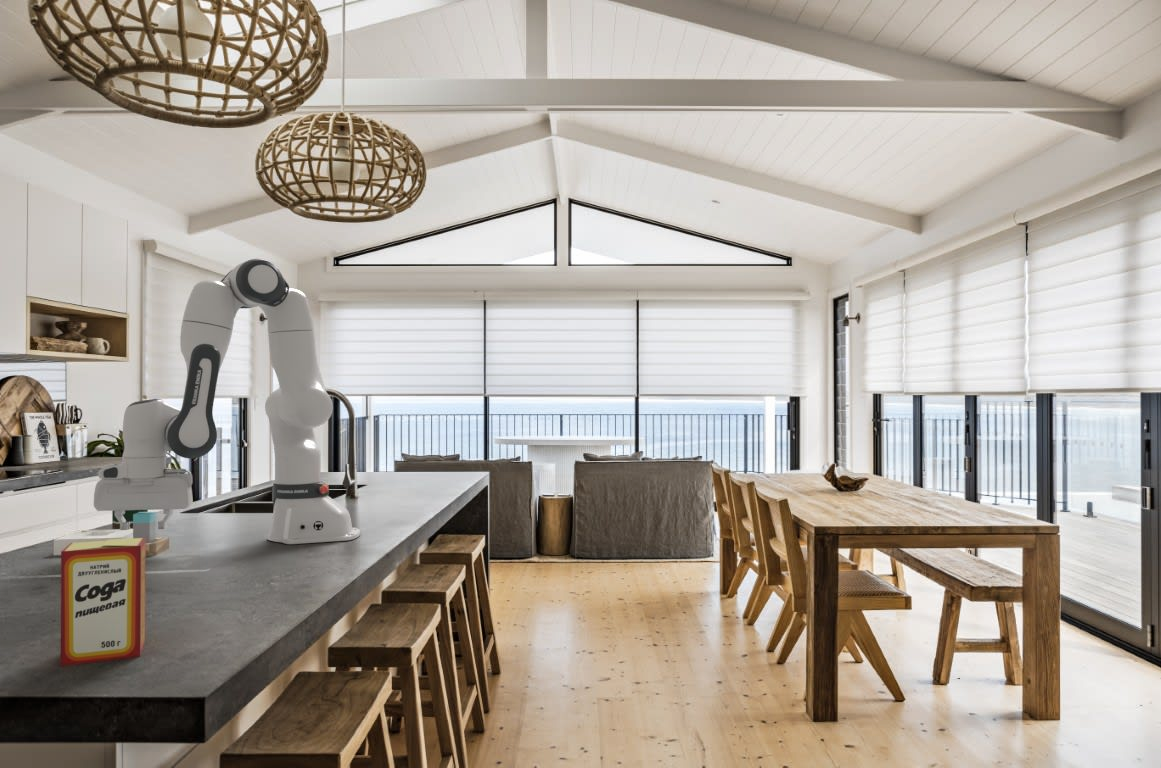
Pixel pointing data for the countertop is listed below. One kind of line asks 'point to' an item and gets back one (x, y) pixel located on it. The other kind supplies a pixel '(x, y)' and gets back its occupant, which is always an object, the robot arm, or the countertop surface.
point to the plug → (144, 526)
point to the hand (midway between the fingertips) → (143, 529)
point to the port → (90, 537)
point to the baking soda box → (102, 600)
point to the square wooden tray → (157, 546)
